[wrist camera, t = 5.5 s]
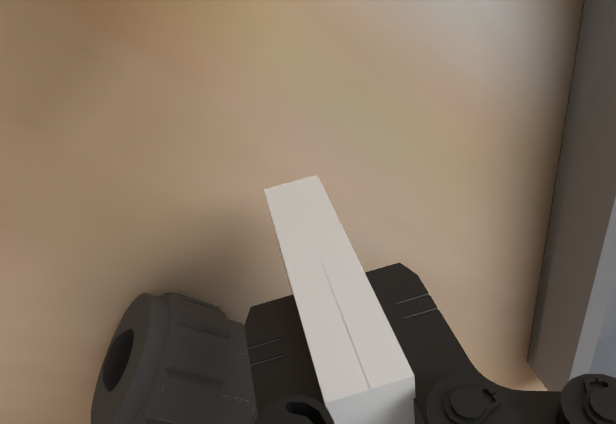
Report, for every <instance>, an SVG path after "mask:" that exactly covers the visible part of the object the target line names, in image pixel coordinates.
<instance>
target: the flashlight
mask: <svg viewBox="0 0 616 424" xmlns="http://www.w3.org/2000/svg"><path fill="white" fill-rule="evenodd" d="M244 326H245V325H244V324H241V323H238V322H235V321H232V320H229V319H227V318H226V316H225V314H224V313H223V312H221V310H220V308H219V307H216V306H213V305H209V304H206V303H203V302H200V301H197V300H194V299H191V298H188V297H185V296H182V295H179V294H176V293H167V294H165V295H163V296H161V297H156V296H153V295H150V294H146V293H143V294H141V295H140V296H139V297H137V298H136V299H135V301H134V302H133V303H132V304H131V306H130V307H129V309H128V310H127V312H126V313H125V315H124V317H123V318H122V320H121V322H120V324H119V326H118V328H117V330H116V332H115V334H114V336H113V339H112V341H111V343H110V346H109V348H108V351H107V354H106V356H105V359H104V362H103V364H102V367H101V370H100V374H99V377H98V381H97V385H96V389H95V393H94V398H93V403H92V410H91V424H254V422H255V420H256V418H257V416H258V413H257V406H256V400H255V393H254V387H253V380H252V374H251V365H250V361H249V354H248V347H247V341H246V335H245V328H244Z"/></svg>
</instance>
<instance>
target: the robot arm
mask: <svg viewBox="0 0 616 424" xmlns="http://www.w3.org/2000/svg"><path fill="white" fill-rule="evenodd" d="M264 192H265V195H266V199H267V203H268V206H269V210H270V214H271V218H272V221H273V225H274V229H275V232H276V236H277V240H278V244H279V247H280V251H281V255H282V258H283V262H284V266H285V269H286V273H287V276H288V280H289V284H290V287H291V291H292V294H293V295H290V296H287V297H283V298H280V299H276V300H273V301H270V302H266V303H263V304H259V305H256V306H252V307H251V308H250V311H249V314H248V317H247V320H246V323H245V326H244V328H245V335H246V341H247V347H248V354H249V361H250V365H251V374H252V380H253V387H254V393H255V400H256V406H257V413H258V416H257V418H256V420H255V422H254V424H616V378H614V377H611V376H607V375H604V374H583V375H580V376H577V377H575V378H572V379H571V380H570V381H569V382H568V383H567V384H566V385H565V386H564V387H563V389H562V391H521V390H512V389H509V388H505V387H502V386H499V385H497V384H495V383H493V382H492V381H490V380H488V379H487V378H485V377H484V376H483V375H482V374H481V373H479V372H478V371H477V369H476V368H475V367H474V366H473V364H472V363H471V361H470V360H469V358H468V357H467V355H466V353H465V352H464V350H463V348H462V347H461V345H460V344H459V342H458V340H457V339H456V337H455V335H454V334H453V332H452V330H451V329H450V327H449V326H448V324H447V322H446V321H445V319H444V317H443V316H442V314H441V313H440V311H439V310H438V309H437V306H436V304H435V303H434V301H433V300H432V298H431V296H429V294H428V291H427V290H426V288H425V287H424V285H423V283H422V282H421V280H420V278H419V277H418V275H417V274H415V273H414V272H412V271H411V270H410V269H408V268H407V267H405V266H404V265H402V264H401V263H397V264H393V265H390V266H386V267H383V268H379V269H376V270H372V271H369V272H364V270H363V268H362V266H361V264H360V262H359V260H358V258H357V256H356V254H355V251H354V249H353V247H352V245H351V243H350V241H349V239H348V237H347V235H346V233H345V231H344V229H343V227H342V225H341V223H340V220H339V218H338V216H337V214H336V212H335V210H334V208H333V206H332V204H331V202H330V200H329V198H328V196H327V194H326V191H325V189H324V187H323V185H322V183H321V181H320V179H319V177H318V175H315V176H312V177H308V178H304V179H300V180H297V181H293V182H289V183H285V184H282V185H278V186H274V187H270V188H267V189H264Z"/></svg>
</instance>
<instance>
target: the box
mask: <svg viewBox="0 0 616 424" xmlns="http://www.w3.org/2000/svg"><path fill="white" fill-rule="evenodd" d="M527 363H528V364H529V365H530V367H531V368H532V369H533V371H534V372H535V373H536V375H537V376H538V377H539V379H540V380H541V381H542V383H543V384H544V385H545V387H546V388H547V390H548V391H562V389H563V387H564V386H565V385H566V384H567V383H568V382H569V381H570V380H571V379H572V378H575V377H577V376H580V375H583V374H604V375H607V376H611V377H614V378H616V0H585V2H584V8H583V15H582V21H581V27H580V33H579V40H578V46H577V52H576V58H575V65H574V71H573V77H572V83H571V90H570V96H569V102H568V108H567V115H566V121H565V127H564V133H563V140H562V146H561V152H560V158H559V165H558V171H557V177H556V184H555V190H554V196H553V202H552V209H551V215H550V221H549V227H548V234H547V240H546V246H545V252H544V259H543V265H542V271H541V277H540V284H539V290H538V296H537V302H536V309H535V315H534V321H533V327H532V334H531V340H530V346H529V352H528V359H527Z"/></svg>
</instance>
